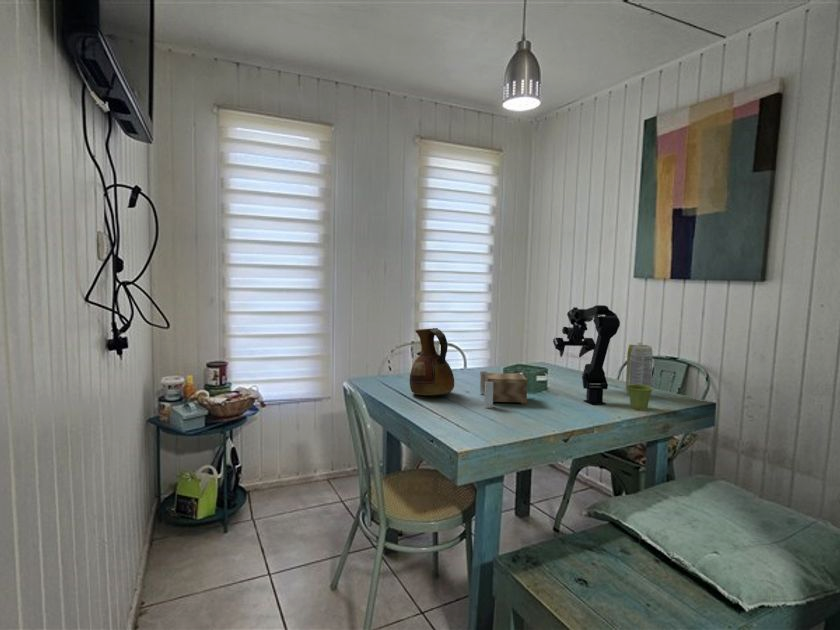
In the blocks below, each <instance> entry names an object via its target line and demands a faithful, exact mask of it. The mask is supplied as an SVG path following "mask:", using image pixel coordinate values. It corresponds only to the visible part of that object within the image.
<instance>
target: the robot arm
mask: <svg viewBox="0 0 840 630" xmlns="http://www.w3.org/2000/svg"><path fill="white" fill-rule="evenodd" d="M566 316H567V319H568V321H569V322H570V325H572V326H571V327H568V326H563V327H562V330H561V332H562V333H561V334H563V335H566V338H567V340H564V338H563V337H554V338H553V339H552V343H553V346H554V349H555V350H557V351H559V357H560V358H562V357H563V355H564V352H565V347H581V348H580V351H579V353H578V354H579V355H578V358H581V357H583V356H584V355H586V354H587V353H589V352H592V353H593V354H592V357H591V361H590V363H586V364H585V365H584V370H583V372H582V374H581V375H582V376H581V379H582V380H581V381H582V386H583V389H586V399H583V402H585V403H587V404H590V405H593V406H596V405H606V404H607V403H606V402H605V401H603V400H604V399H603V398H604V397H603V396H604V390H608V387H609V384H608V381H607V379H606V378H607V377H606V373H605V370H604V368H603V367H604V364H605V360H606V356H607V352H608V349H609V345H610V342H611V339H612V338H613V337H614V336H615V335H616V334H617V333H618V330H619V328H620V326H621V320H620V318H619V317H618V315H617V314H616V313H615V312H614V311H612V310H611V309H610V308H609V307H608V305H601V304H600V305H599V304H598V305H597V304H596V305H594V306H592V307H589V308H578V307H572V308H571V309H570V310H569V311H568V312H567V314H566ZM592 321H593V323H594V325H595V330H596V332H597V337H596V342H595V340H594V339H593V338H592V337H585V336H584V335H585V333H586V331H588V325H587V323H590V322H592Z"/></svg>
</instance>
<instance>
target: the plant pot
mask: <svg viewBox="0 0 840 630" xmlns="http://www.w3.org/2000/svg"><path fill="white" fill-rule="evenodd" d="M627 387H628V390H629V395H630V396H629V395H628V396H629V402H630V403H629V404H630V405H629V406H630V408H631V409H634V410H640V411H647V410H648V407H649V403H650V398H651V397H650V396H651V394H652V391H653V390H654V388H653V387H652V386H651V387H649V386H644V385H628V386H627Z"/></svg>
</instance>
